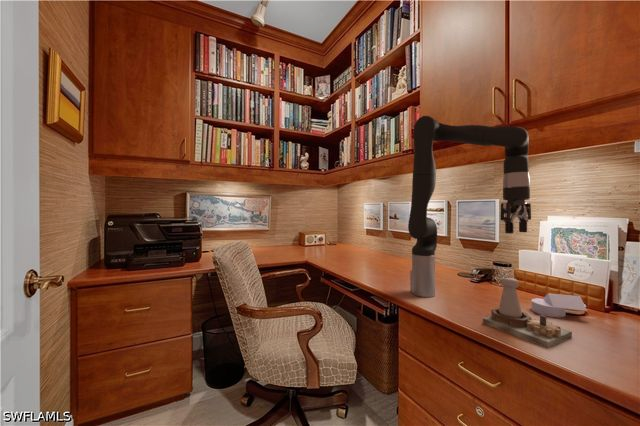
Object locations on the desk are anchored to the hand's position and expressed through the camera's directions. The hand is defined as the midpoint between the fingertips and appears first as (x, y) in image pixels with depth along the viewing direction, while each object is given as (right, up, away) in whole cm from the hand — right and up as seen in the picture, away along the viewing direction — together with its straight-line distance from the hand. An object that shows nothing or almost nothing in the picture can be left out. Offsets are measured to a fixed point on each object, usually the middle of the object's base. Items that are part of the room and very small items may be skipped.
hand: (516, 232), depth 90 cm
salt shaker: (-9, -27, -9) cm, 30 cm away
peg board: (-7, -28, -12) cm, 32 cm away
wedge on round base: (+14, -28, 0) cm, 31 cm away
